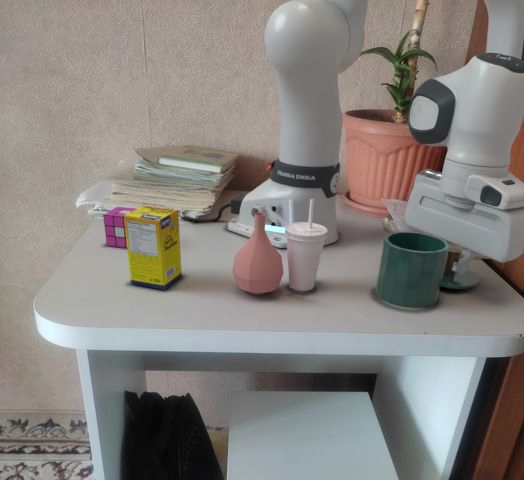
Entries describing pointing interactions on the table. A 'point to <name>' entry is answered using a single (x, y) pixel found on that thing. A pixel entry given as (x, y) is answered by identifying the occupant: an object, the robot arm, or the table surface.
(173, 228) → the supplement box
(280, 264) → the pink vase
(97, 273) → the table surface
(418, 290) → the crock
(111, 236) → the puzzle toy
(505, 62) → the robot arm
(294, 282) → the smoothie
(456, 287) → the lid
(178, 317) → the table surface
